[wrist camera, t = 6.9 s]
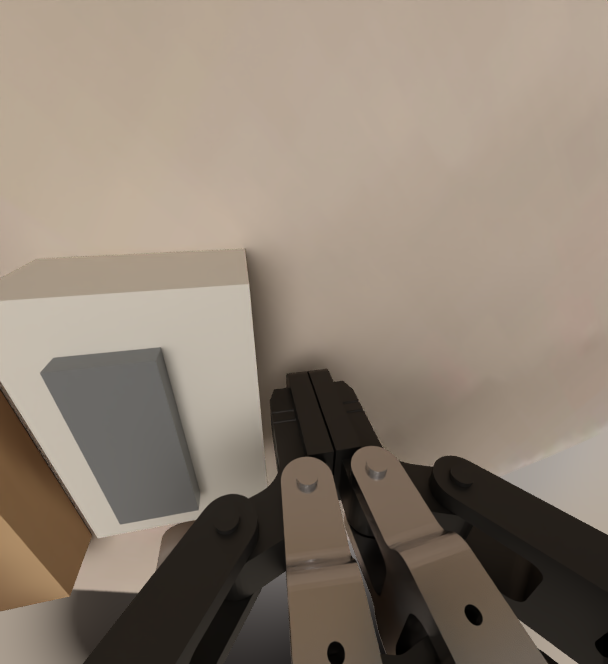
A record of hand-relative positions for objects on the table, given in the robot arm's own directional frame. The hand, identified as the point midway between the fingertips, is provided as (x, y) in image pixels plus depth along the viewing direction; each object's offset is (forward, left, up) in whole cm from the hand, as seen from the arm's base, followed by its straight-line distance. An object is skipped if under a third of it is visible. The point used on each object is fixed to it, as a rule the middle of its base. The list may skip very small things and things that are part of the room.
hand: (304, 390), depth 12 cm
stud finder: (+5, 0, -2) cm, 5 cm away
